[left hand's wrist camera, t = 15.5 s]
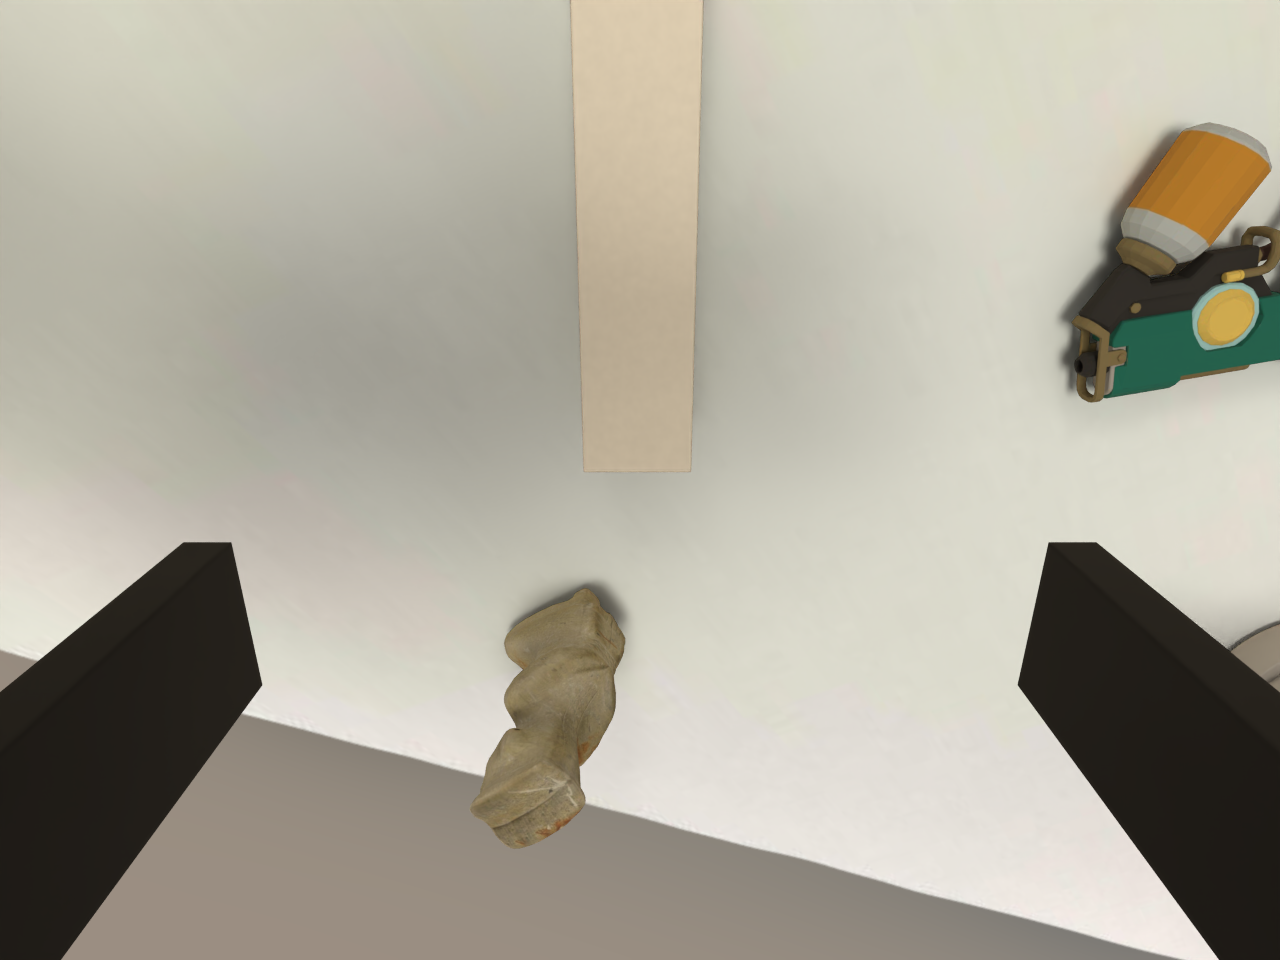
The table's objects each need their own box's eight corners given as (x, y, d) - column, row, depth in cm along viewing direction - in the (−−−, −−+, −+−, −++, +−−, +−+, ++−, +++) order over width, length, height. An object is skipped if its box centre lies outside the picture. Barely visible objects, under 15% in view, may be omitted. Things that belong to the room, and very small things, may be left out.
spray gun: (1439, 131, 39) (1301, 413, 45) (1131, 85, 37) (1030, 385, 43) (1533, 131, 35) (1368, 440, 41) (1194, 80, 33) (1074, 409, 39)
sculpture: (494, 616, 49) (435, 796, 35) (590, 562, 47) (569, 727, 33) (546, 682, 50) (511, 878, 36) (640, 632, 49) (641, 816, 35)
